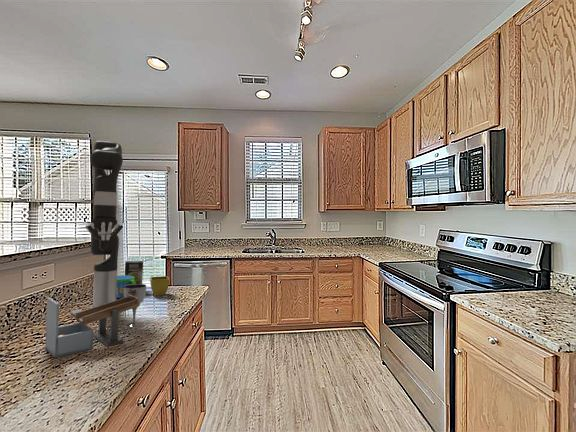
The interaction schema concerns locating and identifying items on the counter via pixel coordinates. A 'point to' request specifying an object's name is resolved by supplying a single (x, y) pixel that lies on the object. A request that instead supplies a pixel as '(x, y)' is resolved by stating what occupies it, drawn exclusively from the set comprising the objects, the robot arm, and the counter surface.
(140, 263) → the coffee box
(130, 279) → the snack cup
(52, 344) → the grey-blue open bin
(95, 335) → the lever stand
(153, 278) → the flower pot
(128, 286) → the wine glass
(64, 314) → the counter surface
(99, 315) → the lever
